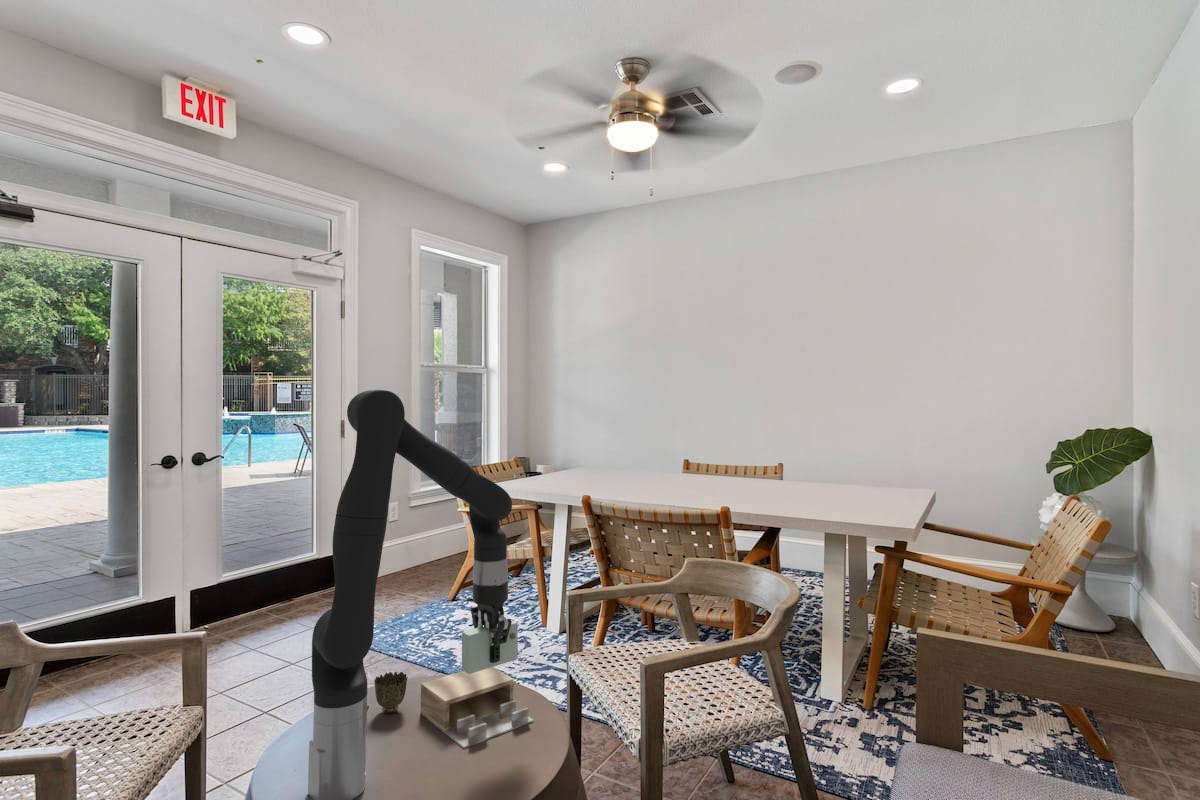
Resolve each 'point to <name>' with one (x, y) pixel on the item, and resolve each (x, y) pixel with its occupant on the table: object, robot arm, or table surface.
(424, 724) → the table surface
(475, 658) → the door
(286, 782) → the table surface
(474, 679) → the cabinet
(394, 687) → the cup
